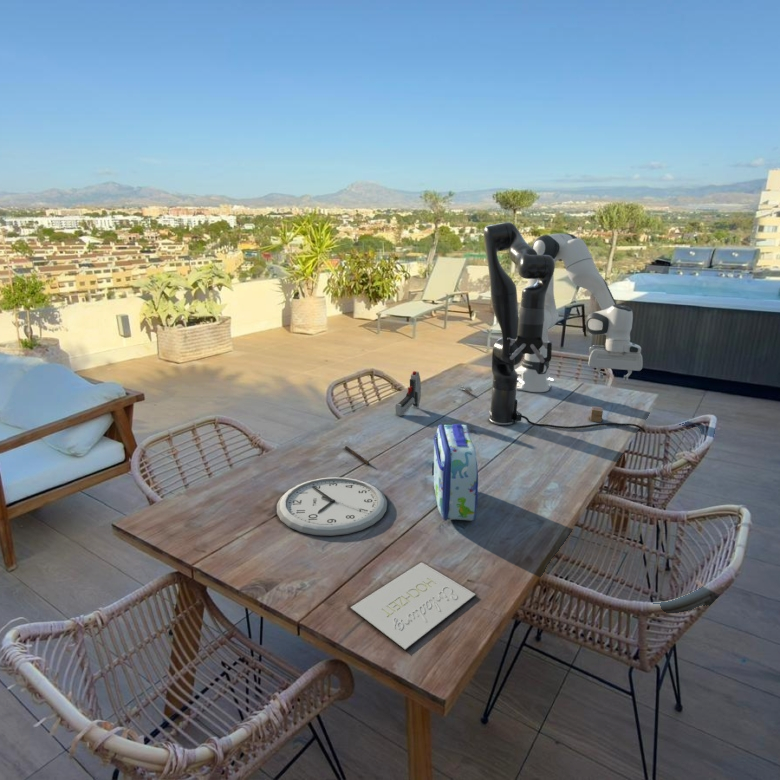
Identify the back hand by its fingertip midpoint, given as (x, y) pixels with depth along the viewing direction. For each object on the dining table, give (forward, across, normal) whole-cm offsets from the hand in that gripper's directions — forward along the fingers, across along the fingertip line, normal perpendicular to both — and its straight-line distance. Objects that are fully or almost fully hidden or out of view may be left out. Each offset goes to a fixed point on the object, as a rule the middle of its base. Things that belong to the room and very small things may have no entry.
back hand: (612, 379), depth 214 cm
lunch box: (+15, -44, -96) cm, 107 cm away
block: (+15, -5, -10) cm, 19 cm away
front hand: (-15, -30, -59) cm, 68 cm away
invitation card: (+15, -43, -138) cm, 145 cm away
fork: (+14, -61, +7) cm, 63 cm away
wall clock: (+14, -75, -109) cm, 133 cm away
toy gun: (+14, -78, -29) cm, 85 cm away
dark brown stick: (+14, -81, -78) cm, 113 cm away
